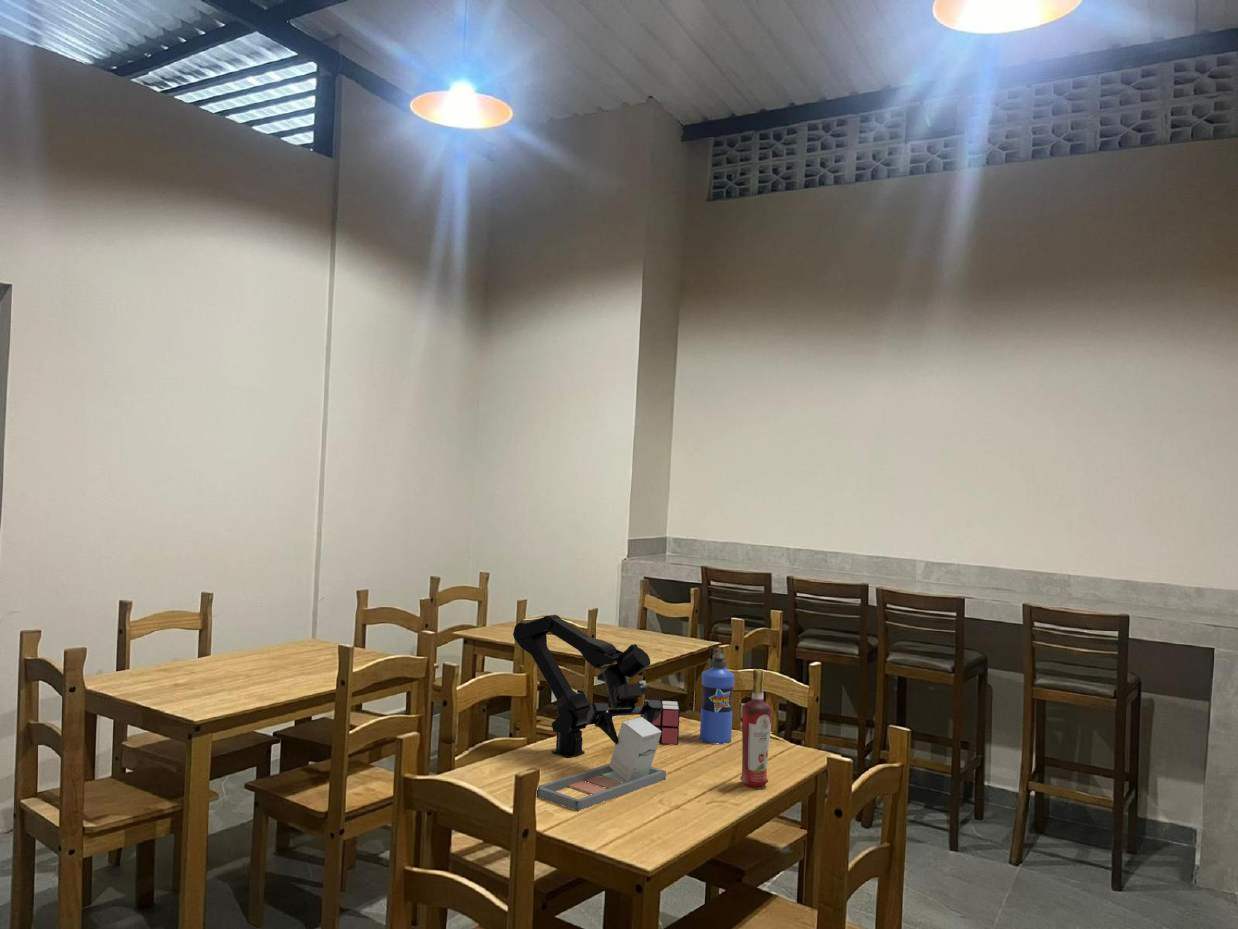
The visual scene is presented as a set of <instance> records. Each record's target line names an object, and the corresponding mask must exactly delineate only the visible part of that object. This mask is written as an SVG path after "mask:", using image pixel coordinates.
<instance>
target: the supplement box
mask: <svg viewBox="0 0 1238 929" xmlns="http://www.w3.org/2000/svg"><path fill="white" fill-rule="evenodd" d="M661 732H662V731H660V730H659V729H658V728H656V727H655V726H654V725H652V724H651V723H649V722H648V721H647V720H645V719H644V718H643V717H641V716H640V717H636V718H633V719H632V718H631V719H629V720H625V721H622V722H621V724H620V728H619V731H618V733H617V737H618V744H615V743H614V744H615V745H614V748H613V752H612V755H611V758H610V761H609V763H610V764H609V763H608V764H609V767H610V768H612V769H613V770H614V771H615V772H616V773H618V774H619V775H620V776H621V777H622V778H624V779H625V780H626V781H627V782H629V781H632V780H635V779H638V778H641V777H644V776H647V775H648V774H649V771H650V768H651V767H652V764H653V760H654V758H655V755H656V752H657V749H658V748H657V747H658V745H659V744H658V742H659V739H660V736H661Z"/></svg>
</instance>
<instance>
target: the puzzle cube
mask: <svg viewBox="0 0 1238 929" xmlns="http://www.w3.org/2000/svg"><path fill="white" fill-rule="evenodd" d="M646 700H647V699H644V701H643V704H644V703H645V701H646ZM659 701H660V702H661V703H662V706H663V710H662V711H661V713H660V715H659V716H658V718H657V719H656V720H654V721H653V722H652V725H654V726H655V727H656V728H658V729H659V730H660V731H662V732H661V736H660V739H659V742H658V743H660V745H668V744H675V745H674V746H678V745H679V737H680V736H679V735H680V714H681V713H680V712H681V710H680V709H681V708H680V706H679V702H678V701H671V700H662V701H661V700H659Z"/></svg>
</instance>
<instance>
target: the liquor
mask: <svg viewBox="0 0 1238 929" xmlns="http://www.w3.org/2000/svg"><path fill="white" fill-rule="evenodd" d="M752 671H753V673H752V680H753V685H752V692H751V700H749V701H747V702H746V703H744V704H743V705H742V706H741V712H742V713H741V714H742V716H741V718H742V719H741V720H742V721H741V736H742V743H741V744H742V749H741V751H742V756H741V757H742V760H741V762H742V763H741V765H742V766H741V775H740V778H739V779H740V781H741V783H743V785H744V786H745V787H747V788H750V787H751V789H760V788H763V787H764V786H765V785H767V783H769V779H768V776H767V775H768V773H767V772H768V760H769V749H770V738H771V729H772V728H771V727H772V714H773V708H772V707H771V706H770V705H769V704H768V703H766V702H765V700H764V685H763V684H764V679H765V678H764V677H765V669H761V668H754V669H752Z"/></svg>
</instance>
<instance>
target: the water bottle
mask: <svg viewBox="0 0 1238 929" xmlns="http://www.w3.org/2000/svg"><path fill="white" fill-rule="evenodd" d="M712 658H713V659H712V660H711V664H710V665H711V666H712V667H709V669H707V670H704V671H702V672H701V685H702V703H701V708H700V724H699V726H700V728H699V740H700V739H701V740H702V741H701V740H700V741H701V742H702V743H703V742H704V743H705V742H706V743H707V744H710V743H719V744H718V745H725V744H724V743H728V744H730V743H732V730H733V726H732V725H733V706H732V700H733V699H732V698H733V691H734V688H735V673H733V672H731V671H729V670H728V669H727V668H726V666H727V660H725V659H726V658H727V657H726V655H725V654H724V653H723V652H719V651H718V652H715V653H714V654H713V655H712Z"/></svg>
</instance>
